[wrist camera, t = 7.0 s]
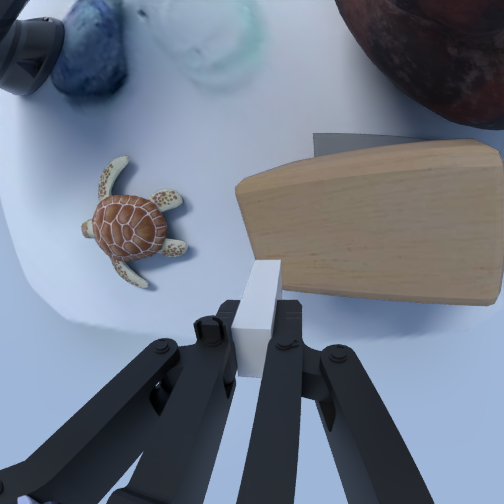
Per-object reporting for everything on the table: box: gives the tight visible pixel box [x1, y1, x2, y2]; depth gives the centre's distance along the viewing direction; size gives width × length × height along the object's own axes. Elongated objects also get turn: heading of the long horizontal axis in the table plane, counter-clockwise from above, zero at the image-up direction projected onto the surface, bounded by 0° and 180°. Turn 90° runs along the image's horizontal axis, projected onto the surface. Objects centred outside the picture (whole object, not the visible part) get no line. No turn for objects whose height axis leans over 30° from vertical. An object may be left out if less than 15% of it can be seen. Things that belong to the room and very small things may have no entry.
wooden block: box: [235, 138, 504, 306], centre depth 20 cm, size 10×10×20 cm
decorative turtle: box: [81, 156, 188, 288], centre depth 32 cm, size 18×17×5 cm
